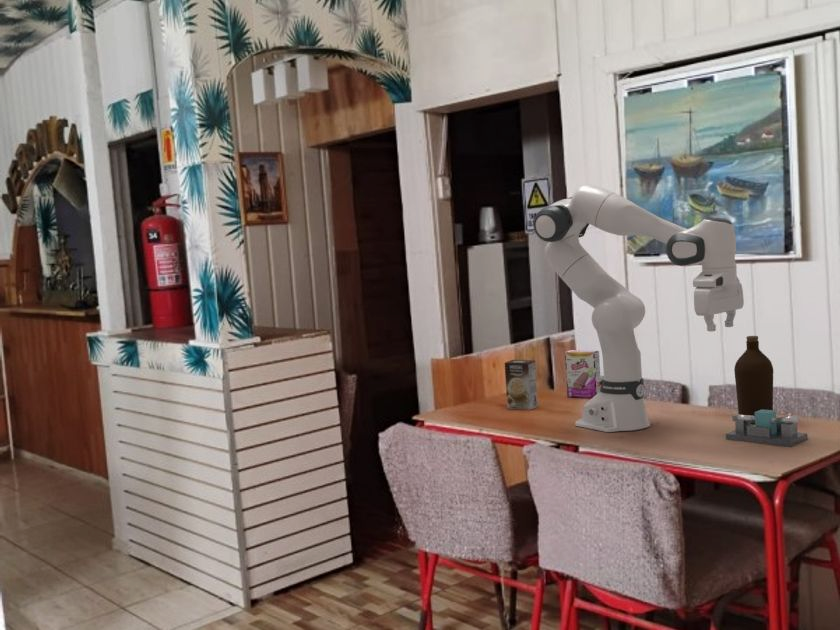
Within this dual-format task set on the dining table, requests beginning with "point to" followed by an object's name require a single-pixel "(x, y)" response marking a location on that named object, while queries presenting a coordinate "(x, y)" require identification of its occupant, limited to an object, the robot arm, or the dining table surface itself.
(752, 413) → the olive oil
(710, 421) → the dining table surface
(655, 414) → the dining table surface
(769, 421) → the coupler
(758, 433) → the shaft rig
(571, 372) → the candy bar box
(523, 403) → the coffee box
